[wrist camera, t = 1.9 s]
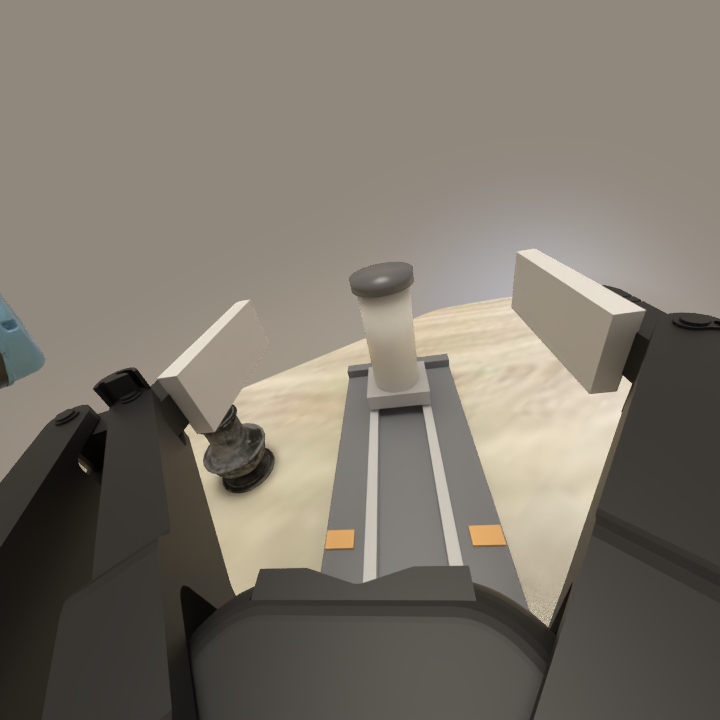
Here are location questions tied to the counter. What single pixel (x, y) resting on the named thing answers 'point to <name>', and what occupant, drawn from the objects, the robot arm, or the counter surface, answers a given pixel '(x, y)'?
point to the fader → (390, 336)
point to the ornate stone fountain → (238, 454)
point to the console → (413, 491)
